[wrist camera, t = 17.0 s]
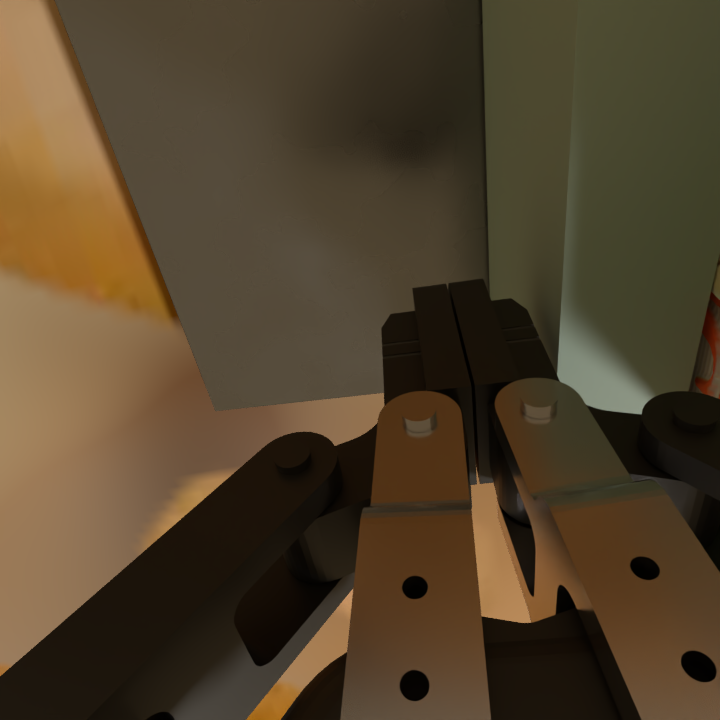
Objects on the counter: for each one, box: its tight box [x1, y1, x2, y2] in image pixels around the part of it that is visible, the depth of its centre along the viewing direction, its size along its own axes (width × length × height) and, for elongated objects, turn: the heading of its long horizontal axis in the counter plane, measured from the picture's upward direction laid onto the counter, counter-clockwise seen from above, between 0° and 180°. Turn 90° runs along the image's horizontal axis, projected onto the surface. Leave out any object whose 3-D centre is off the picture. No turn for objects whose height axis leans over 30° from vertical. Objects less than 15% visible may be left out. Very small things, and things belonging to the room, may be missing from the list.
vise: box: [55, 0, 490, 411], centre depth 14 cm, size 24×14×9 cm, turn 99°
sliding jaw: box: [482, 0, 720, 414], centre depth 14 cm, size 2×12×8 cm, turn 9°
